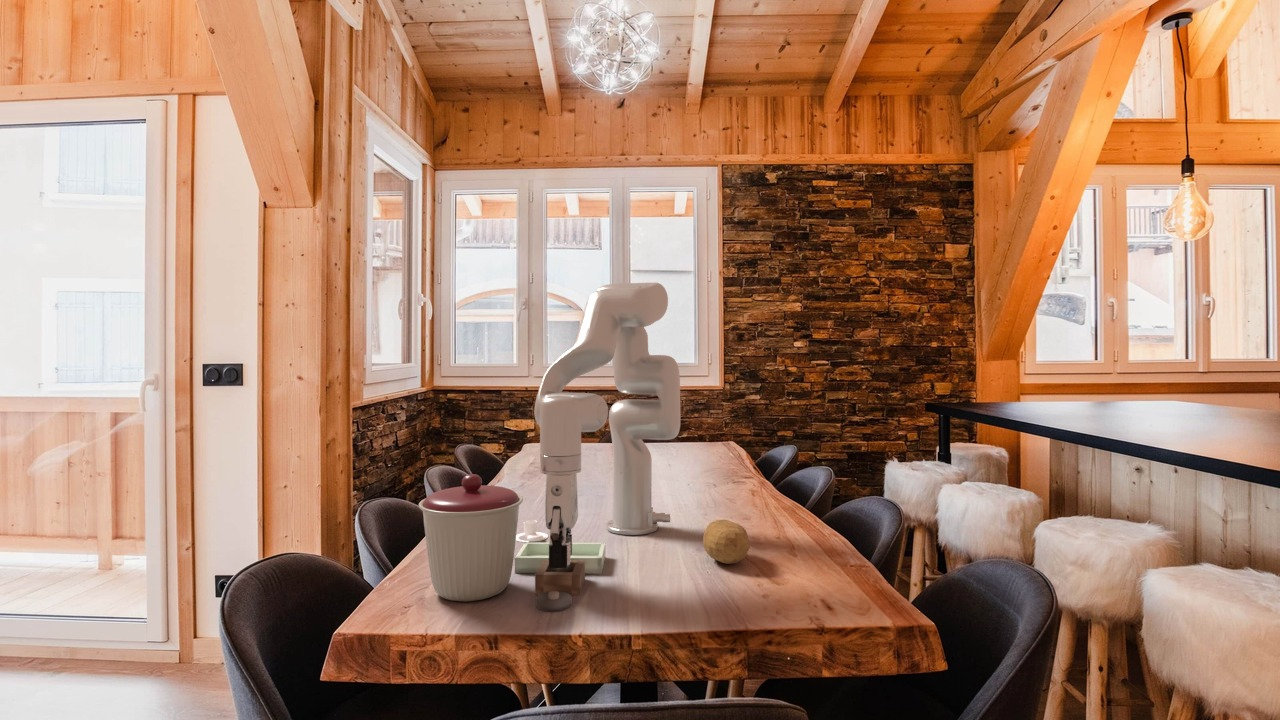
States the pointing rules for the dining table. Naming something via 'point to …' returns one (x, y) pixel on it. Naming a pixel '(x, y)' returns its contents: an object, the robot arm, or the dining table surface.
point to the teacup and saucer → (531, 532)
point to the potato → (726, 541)
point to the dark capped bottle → (568, 568)
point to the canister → (471, 539)
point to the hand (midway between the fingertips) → (560, 560)
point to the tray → (590, 552)
